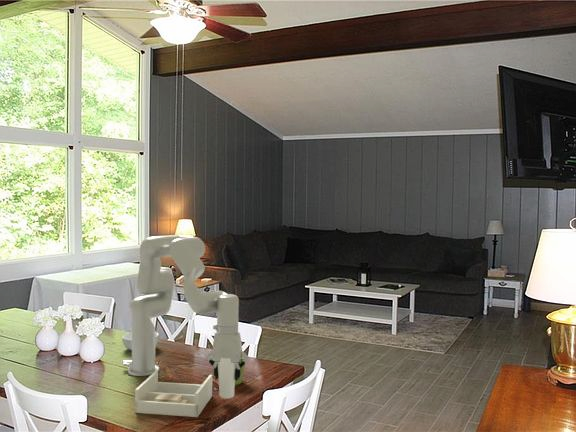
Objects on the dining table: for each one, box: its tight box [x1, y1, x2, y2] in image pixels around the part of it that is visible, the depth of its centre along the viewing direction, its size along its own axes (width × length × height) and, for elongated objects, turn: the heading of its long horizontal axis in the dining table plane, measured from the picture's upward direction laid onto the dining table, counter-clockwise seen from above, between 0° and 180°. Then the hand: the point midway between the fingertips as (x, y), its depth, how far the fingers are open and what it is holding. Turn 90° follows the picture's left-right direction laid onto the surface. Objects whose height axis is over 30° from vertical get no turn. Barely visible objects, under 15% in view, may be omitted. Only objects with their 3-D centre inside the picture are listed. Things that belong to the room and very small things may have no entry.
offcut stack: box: [155, 393, 188, 404], centre depth 191 cm, size 12×5×5 cm, turn 83°
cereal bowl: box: [121, 331, 160, 351], centre depth 259 cm, size 17×17×7 cm
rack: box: [134, 371, 213, 418], centre depth 196 cm, size 22×19×8 cm
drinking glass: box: [218, 358, 236, 400], centre depth 197 cm, size 7×7×15 cm
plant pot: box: [235, 357, 246, 386], centre depth 218 cm, size 9×9×9 cm
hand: (227, 378), depth 197 cm, fingers closed on drinking glass, 6 cm apart
